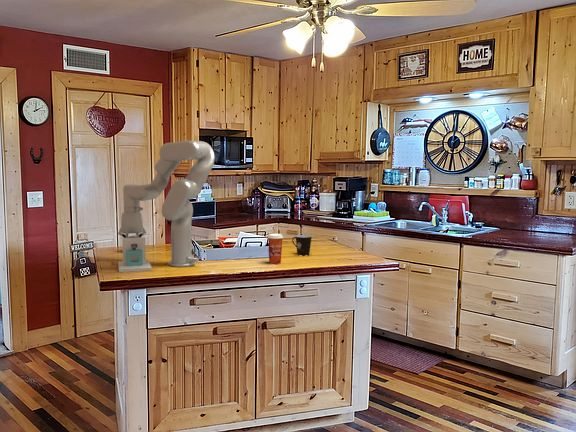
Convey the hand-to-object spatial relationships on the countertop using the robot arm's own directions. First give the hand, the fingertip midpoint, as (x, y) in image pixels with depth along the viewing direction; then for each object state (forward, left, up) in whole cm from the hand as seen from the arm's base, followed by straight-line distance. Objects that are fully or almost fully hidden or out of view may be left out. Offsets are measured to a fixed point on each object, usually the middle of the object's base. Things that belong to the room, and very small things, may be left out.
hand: (132, 246), depth 259 cm
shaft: (-4, +6, +1) cm, 8 cm away
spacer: (-10, +14, -6) cm, 18 cm away
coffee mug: (-75, -45, -7) cm, 87 cm away
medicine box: (+11, -20, -7) cm, 24 cm away
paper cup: (-68, -19, -7) cm, 71 cm away
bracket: (-9, +12, -7) cm, 17 cm away
